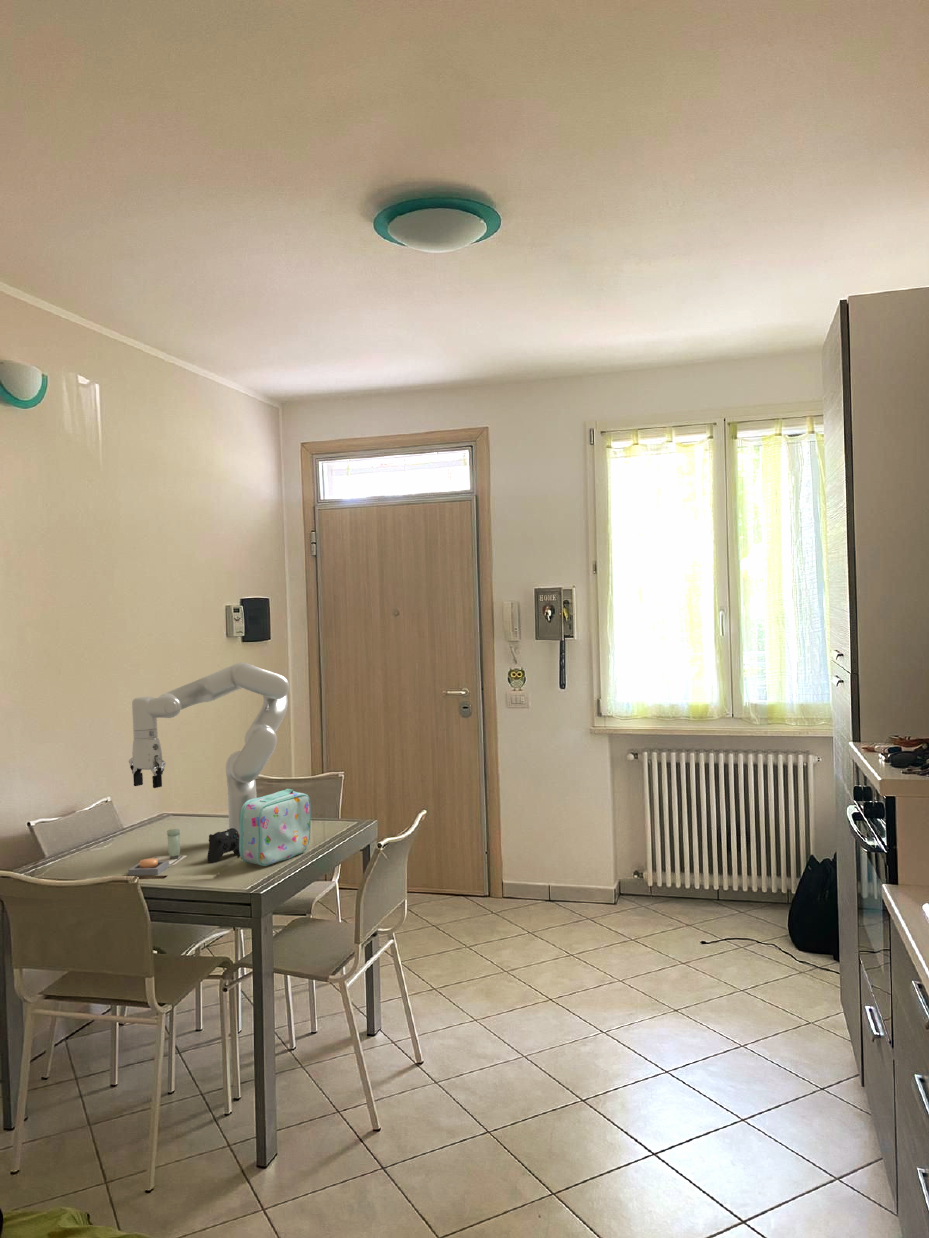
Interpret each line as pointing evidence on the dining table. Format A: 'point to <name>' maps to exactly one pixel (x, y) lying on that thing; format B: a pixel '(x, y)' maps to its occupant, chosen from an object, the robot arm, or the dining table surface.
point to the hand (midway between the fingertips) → (147, 786)
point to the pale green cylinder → (173, 843)
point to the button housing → (149, 869)
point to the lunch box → (274, 827)
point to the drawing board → (163, 858)
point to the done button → (149, 863)
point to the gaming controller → (223, 844)
